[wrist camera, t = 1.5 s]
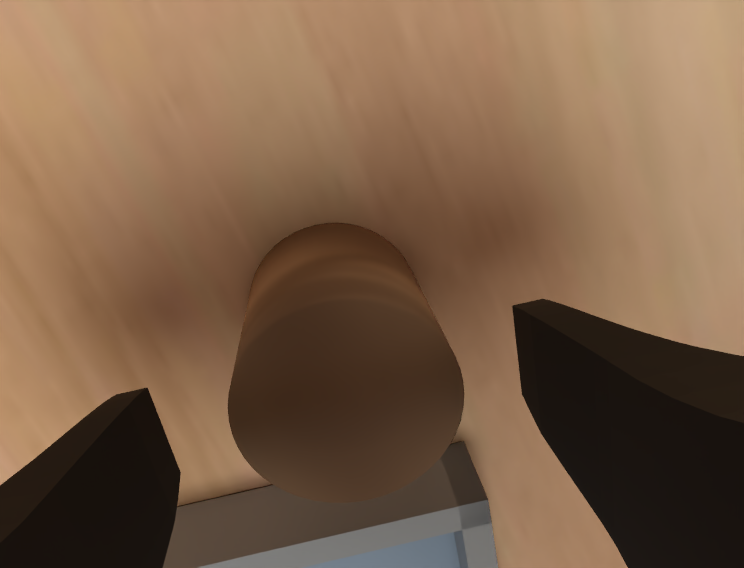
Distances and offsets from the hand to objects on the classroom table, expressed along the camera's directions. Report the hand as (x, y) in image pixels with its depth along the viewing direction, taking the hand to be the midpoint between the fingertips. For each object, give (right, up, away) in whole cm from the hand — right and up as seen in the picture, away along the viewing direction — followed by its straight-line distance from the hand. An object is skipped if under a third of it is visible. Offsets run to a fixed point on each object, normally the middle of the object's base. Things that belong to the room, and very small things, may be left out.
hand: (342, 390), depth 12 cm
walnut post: (0, +2, +4) cm, 5 cm away
